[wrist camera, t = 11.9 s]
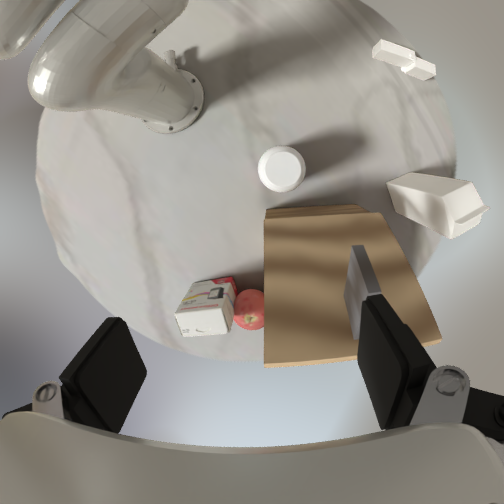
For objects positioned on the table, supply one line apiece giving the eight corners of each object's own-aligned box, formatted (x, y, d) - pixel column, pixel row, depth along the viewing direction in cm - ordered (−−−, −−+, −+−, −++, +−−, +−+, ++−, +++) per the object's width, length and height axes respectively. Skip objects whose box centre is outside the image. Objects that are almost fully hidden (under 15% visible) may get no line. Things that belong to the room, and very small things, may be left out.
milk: (385, 182, 44) (455, 199, 23) (410, 171, 43) (486, 183, 22) (395, 213, 46) (464, 247, 25) (420, 201, 44) (494, 229, 24)
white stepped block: (355, 53, 37) (364, 42, 32) (387, 28, 34) (398, 17, 29) (409, 112, 40) (424, 107, 34) (438, 83, 37) (453, 78, 31)
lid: (264, 224, 36) (258, 177, 32) (379, 217, 34) (386, 172, 30) (264, 367, 21) (255, 321, 16) (439, 343, 19) (471, 294, 15)
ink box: (233, 275, 52) (223, 306, 41) (239, 298, 53) (231, 333, 42) (191, 282, 53) (171, 312, 42) (198, 304, 55) (181, 338, 43)
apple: (257, 321, 55) (254, 345, 47) (227, 301, 54) (220, 323, 46) (280, 296, 52) (281, 318, 45) (249, 274, 51) (245, 294, 44)
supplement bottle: (299, 188, 46) (308, 196, 34) (260, 187, 46) (256, 195, 34) (299, 149, 44) (309, 144, 32) (260, 148, 44) (256, 143, 32)
